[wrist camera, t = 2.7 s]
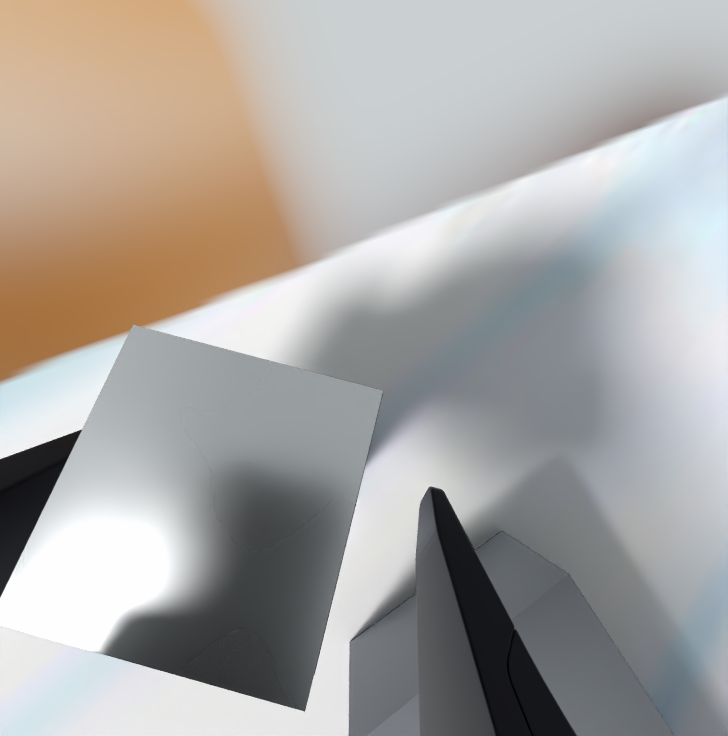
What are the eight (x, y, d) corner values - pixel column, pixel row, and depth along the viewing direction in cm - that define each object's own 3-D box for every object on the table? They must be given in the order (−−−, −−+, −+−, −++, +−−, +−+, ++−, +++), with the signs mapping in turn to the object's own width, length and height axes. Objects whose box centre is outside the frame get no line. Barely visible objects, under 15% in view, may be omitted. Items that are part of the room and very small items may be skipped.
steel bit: (342, 491, 16) (307, 717, 3) (273, 473, 16) (-16, 624, 3) (360, 421, 17) (387, 388, 4) (295, 404, 17) (131, 321, 4)
